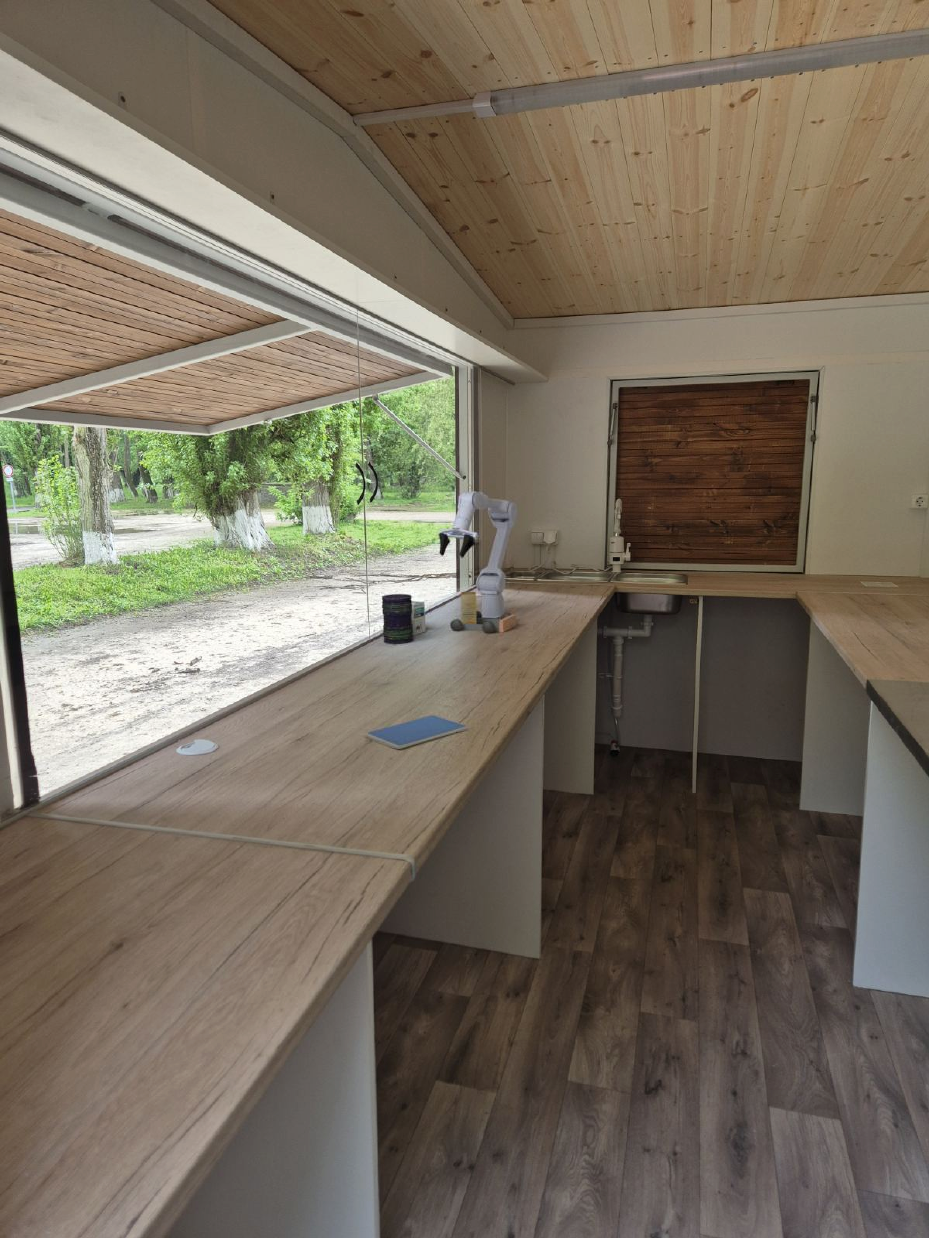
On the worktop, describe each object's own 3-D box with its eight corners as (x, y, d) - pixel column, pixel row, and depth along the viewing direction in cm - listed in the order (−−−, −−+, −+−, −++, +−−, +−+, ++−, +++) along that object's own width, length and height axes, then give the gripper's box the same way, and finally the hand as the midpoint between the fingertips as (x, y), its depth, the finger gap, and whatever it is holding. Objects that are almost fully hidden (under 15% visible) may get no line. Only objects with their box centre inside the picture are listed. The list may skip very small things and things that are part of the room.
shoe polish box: (475, 624, 294) (475, 591, 292) (476, 627, 289) (475, 594, 287) (462, 625, 294) (461, 592, 292) (462, 628, 289) (461, 594, 287)
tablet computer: (433, 719, 188) (432, 713, 188) (470, 731, 179) (469, 725, 179) (363, 738, 175) (363, 732, 175) (399, 752, 166) (399, 746, 166)
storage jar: (412, 644, 265) (410, 598, 262) (381, 644, 265) (379, 599, 262) (414, 637, 275) (413, 593, 272) (385, 638, 275) (383, 594, 272)
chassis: (469, 621, 302) (469, 610, 301) (519, 624, 294) (519, 613, 293) (447, 630, 285) (447, 619, 284) (499, 634, 277) (499, 622, 276)
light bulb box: (426, 631, 284) (425, 601, 282) (415, 635, 278) (413, 604, 276) (401, 629, 290) (400, 599, 288) (389, 632, 284) (388, 602, 282)
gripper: (440, 514, 286) (428, 547, 281) (477, 517, 280) (466, 551, 275) (447, 525, 292) (435, 558, 287) (484, 528, 285) (473, 561, 281)
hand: (451, 555), depth 281 cm, fingers open, 7 cm apart
